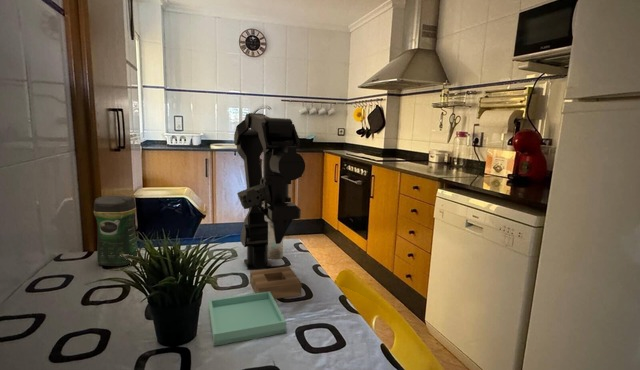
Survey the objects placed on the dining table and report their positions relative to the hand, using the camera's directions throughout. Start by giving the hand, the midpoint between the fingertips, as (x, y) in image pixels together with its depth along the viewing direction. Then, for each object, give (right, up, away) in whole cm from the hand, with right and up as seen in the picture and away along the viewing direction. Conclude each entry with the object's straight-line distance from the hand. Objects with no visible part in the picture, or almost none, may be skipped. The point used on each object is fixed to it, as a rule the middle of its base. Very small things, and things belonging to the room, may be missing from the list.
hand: (275, 240), depth 81 cm
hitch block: (0, -12, +2) cm, 12 cm away
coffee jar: (-45, -9, +15) cm, 49 cm away
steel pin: (0, -4, +1) cm, 4 cm away
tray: (-4, -14, -12) cm, 19 cm away
